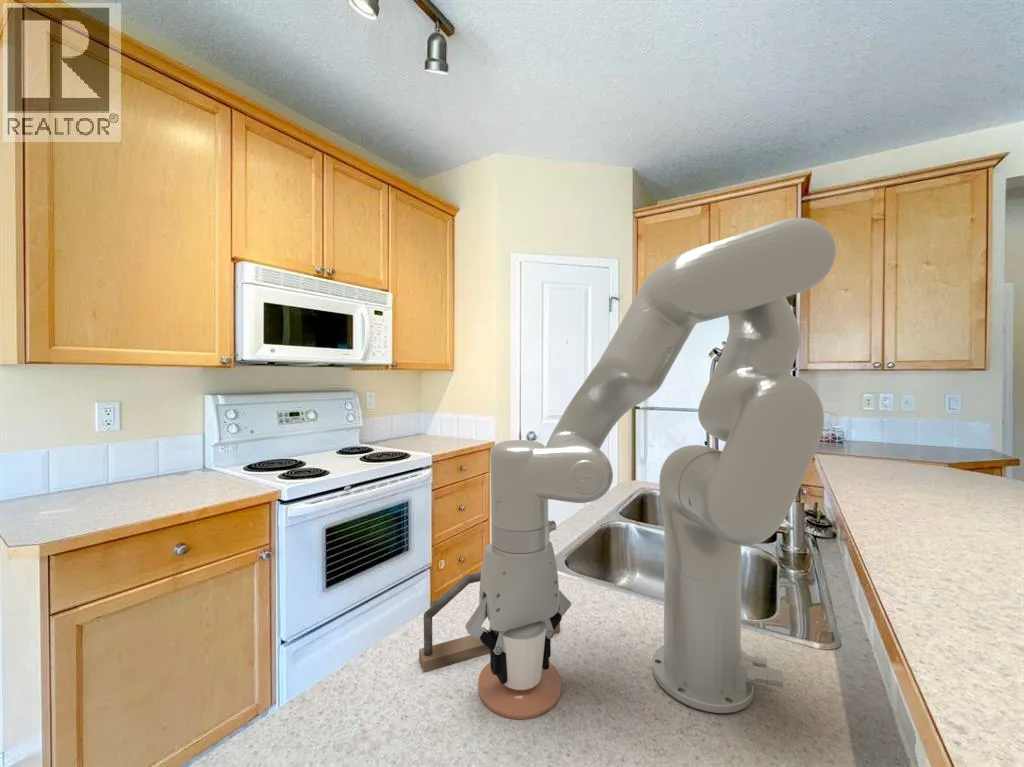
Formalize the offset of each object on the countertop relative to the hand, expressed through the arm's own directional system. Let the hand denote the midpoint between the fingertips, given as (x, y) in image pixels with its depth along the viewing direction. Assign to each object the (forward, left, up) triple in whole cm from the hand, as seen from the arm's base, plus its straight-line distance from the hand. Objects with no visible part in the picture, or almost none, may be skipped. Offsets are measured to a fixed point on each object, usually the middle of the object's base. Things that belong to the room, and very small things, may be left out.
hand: (521, 668), depth 57 cm
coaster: (0, 0, -2) cm, 2 cm away
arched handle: (+7, -7, -2) cm, 10 cm away
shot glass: (0, 0, -1) cm, 1 cm away
